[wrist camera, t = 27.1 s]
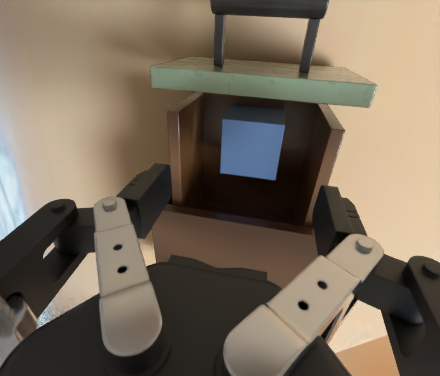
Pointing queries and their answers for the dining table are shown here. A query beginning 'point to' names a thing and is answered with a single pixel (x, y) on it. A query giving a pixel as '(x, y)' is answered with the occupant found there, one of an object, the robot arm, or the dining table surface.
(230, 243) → the cabinet
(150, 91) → the dining table surface
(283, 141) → the drawer
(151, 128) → the dining table surface
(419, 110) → the dining table surface
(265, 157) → the block
